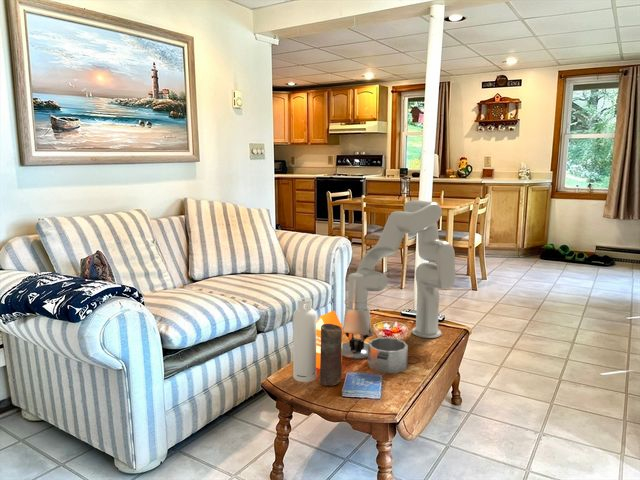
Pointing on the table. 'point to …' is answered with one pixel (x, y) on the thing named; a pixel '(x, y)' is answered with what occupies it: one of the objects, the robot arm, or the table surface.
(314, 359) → the bottle
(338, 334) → the candle
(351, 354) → the lid
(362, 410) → the table surface
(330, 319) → the orange juice
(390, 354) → the pot
